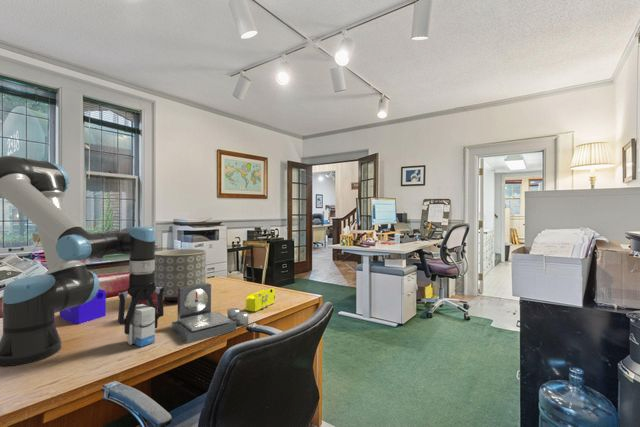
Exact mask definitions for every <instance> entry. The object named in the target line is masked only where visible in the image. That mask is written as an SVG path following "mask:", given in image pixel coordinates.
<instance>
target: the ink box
mask: <svg viewBox="0 0 640 427" xmlns="http://www.w3.org/2000/svg"><path fill="white" fill-rule="evenodd" d="M128 309H129V306H128ZM130 322H131V323H132V345H136V346H138V347H145V346H147V345H150V344H153V343H155V341H156V338H155V334H156V328H155V308H153V307H150V306H147V305H144V304H140V305H139V304H136V307H135V310H134V313H133V316H132V319H131V321H130Z"/></svg>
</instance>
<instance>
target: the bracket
mask: <svg viewBox="0 0 640 427" xmlns="http://www.w3.org/2000/svg"><path fill="white" fill-rule="evenodd" d="M106 299H107V294H106V291H105V290H104V289H102V288H101V289H100V288H99V289H98V292H97V293H96V296H95V297H94V298H93V299H92V300H91V301H89V302H87V303H84V304H82V305H80V306H76V307H72V308H69V309H66V310H63V311H60V312H59V318H61V319H63V320H65V321H66V322H68V323H70V324H73V323H74V324H75V325H82V324H85V323H88V322H91V321H93V320H98V319H99V318H103V317H106V316H107V314H106V313H107V310H106V309H107V302H106V301H107V300H106ZM87 321H88V322H87ZM84 322H85V323H84ZM81 323H82V324H81Z"/></svg>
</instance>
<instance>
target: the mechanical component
mask: <svg viewBox="0 0 640 427" xmlns="http://www.w3.org/2000/svg"><path fill="white" fill-rule="evenodd" d="M151 297H152V301H153V304H154V307H155V310H156V313H158V305H157V293H156V290H155V291H154V293H153V294H152V295H151ZM164 300H165V299H164V296H163V302H164ZM140 304H144V305H147V306H148V303H147V300H141V301H138V303H137V304H136V305H140Z"/></svg>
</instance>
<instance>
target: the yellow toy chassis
mask: <svg viewBox="0 0 640 427" xmlns="http://www.w3.org/2000/svg"><path fill="white" fill-rule="evenodd" d="M275 303H276V289H275V288H274V287H271V288H268V289H265V288H263V289H261V290H259V291H256V292H253V293H251V294H248V296H247V297H246V298H245V311H249V312H258V311H260V310H261V309H263V310H264V309H265V308H268V307H269V306H271V305H272V304H275ZM268 305H269V306H268Z"/></svg>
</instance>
